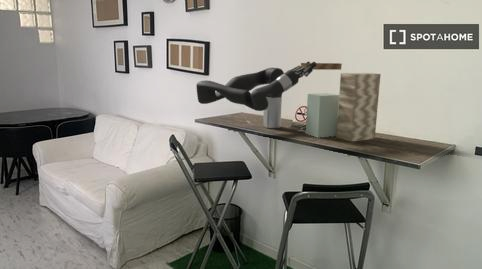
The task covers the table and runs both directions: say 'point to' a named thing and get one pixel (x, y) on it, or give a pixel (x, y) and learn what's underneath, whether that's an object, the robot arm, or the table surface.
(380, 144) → the table surface
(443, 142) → the table surface
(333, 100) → the short pedestal
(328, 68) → the bar
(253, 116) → the table surface
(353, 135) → the tall stand
